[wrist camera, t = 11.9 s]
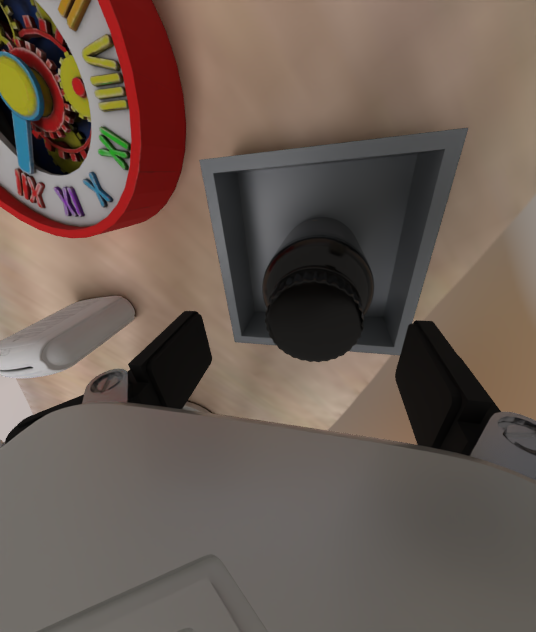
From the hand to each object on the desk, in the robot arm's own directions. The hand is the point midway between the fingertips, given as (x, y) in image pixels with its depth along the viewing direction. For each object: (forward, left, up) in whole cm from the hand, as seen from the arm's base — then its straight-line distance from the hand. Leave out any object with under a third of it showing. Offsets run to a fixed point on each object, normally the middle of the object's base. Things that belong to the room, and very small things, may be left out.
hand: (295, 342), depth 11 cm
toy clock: (+13, +20, -14) cm, 28 cm away
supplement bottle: (0, -1, -13) cm, 13 cm away
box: (0, 0, -14) cm, 14 cm away
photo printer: (-8, +29, -14) cm, 33 cm away
